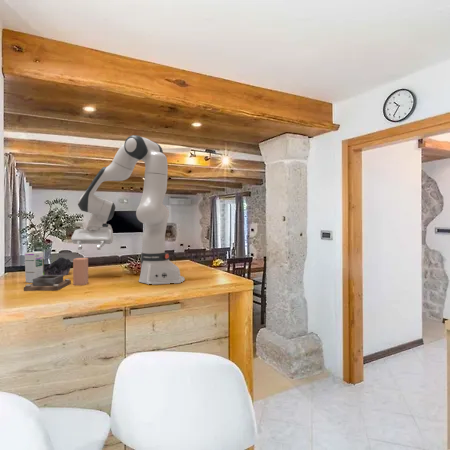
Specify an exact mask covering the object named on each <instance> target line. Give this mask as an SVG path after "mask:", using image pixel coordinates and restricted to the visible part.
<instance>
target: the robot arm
mask: <svg viewBox="0 0 450 450" xmlns="http://www.w3.org/2000/svg"><path fill="white" fill-rule="evenodd" d="M167 158H168V157H167V156H166V155H165V154H164V151H163V148H162V147H161V145H160V144H158V143H157V142H155V141H153V140H150V139H149V138H146V137H144V136H140V135H136V134H135V135H130V136H128V137H127V138H126V139H125V141H124V143H123V144H122V145H121V146H120V147H119V148H118V150H117V152H116V153H115V154H114V157H113V159H112V162H110V163H109V165H108V166H103V167H102V168H101V169H100V170H99V171H98V172H97V174H96V175H95V176H94V178H93V179H92V181H91V182H90V184H89V186H88V187H87V188H86V189H85V191H84V193H83V194H81V195H80V196H79V197H80V198H79V199H78V201H77V206H78V208H79V209H80V211H82V212H86V213H89V214H91V215H90V218H89V221H88V223H87V225H86V228H85V227H84V228H77V229H75V230H74V232H73V233H72V235H71V239H70V240H71V242H72V243H73V245H74V244H76V245H77V250H80V251H81V250H82V249H83V246H82V245H83V244H84V245H93V244H95V245H97V247H96V250H97V251H98V250H99V251H100V250H101V249H102V248H103V247H104V245H111V244H112V243H113V241H114V236H113V233H114V231H113V228H112V225H111V224H109V223H107V222H109V221H110V220H112V218H113V217H114V214H115V211H116V205H115V202H114V201H111V200H108V199H106V198H103V197H101V196H98V195H96V194H95V193H96V191H97V190H98V188H99V187H100V186H101V184H103V182H107V181H109V182H110V181H111V182H122V181H125V180H128V179H129V178H130V177H131V175H132V173H133V171H134V169H135V167H136V165H137V163H138V162H140V161H142V162H144V167H145V168H144V177H143V189H142V190H143V191H142V195H141V197H140V198H141V199H140V202H139V205H138V206H137V208H136V211H135V216H136V219H137V220H138V221H139V222H140V223H142V224H144V225H145V228H144V232H143V234H142V236H141V254H140V263H141V269H140V275H139V279H138V282H139V283H142V284H147V285H149V284H152V285H166V284H167V285H169V284H170V283H174V284H181V282H182V283H184V282H185V276H183V275H181V271H180V267H178V266H177V264H176V263H175V264H174V262H172V261H171V260H170V255H169V253H168V252H166V232H167V226H168V219H169V217H170V211H169V209H168V207H167V206H165V204H163V203H164V198H165V195H166V193H167V189H168V171H169V170H168V169H169V167H168V159H167ZM183 281H184V282H183ZM170 285H171V284H170Z"/></svg>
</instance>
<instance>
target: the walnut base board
mask: <svg viewBox="0 0 450 450" xmlns="http://www.w3.org/2000/svg"><path fill="white" fill-rule="evenodd" d="M71 284H72V281H71V280H70V278H65V279H64V276H63V275H42V276H40V277H37V278H34V279H33V283H28V284H25V285H24V287H23V292H27V291H29V292H32V291H34V292H35V291H36V292H37V291H38V292H39V291H43V292H44V291H60V290H61V289H63V288H65V287H67V286H69V285H71Z"/></svg>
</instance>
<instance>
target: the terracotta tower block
mask: <svg viewBox="0 0 450 450" xmlns="http://www.w3.org/2000/svg"><path fill="white" fill-rule="evenodd" d="M72 268H73V269H72V275H73V277H72V279H73V281H72V282H73V286H85V285H87V284H89V257H76V258H73V259H72Z"/></svg>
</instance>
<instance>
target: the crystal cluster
mask: <svg viewBox="0 0 450 450" xmlns="http://www.w3.org/2000/svg"><path fill="white" fill-rule="evenodd" d="M71 267H72V261H71V259H70V258H64V257H59V258H57V259H55V260H54V261H53V262H51V263H50V264H49V265H47V266H46V267H44V275H63V277H64V276H67V275H69V273H70V271H71Z"/></svg>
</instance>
